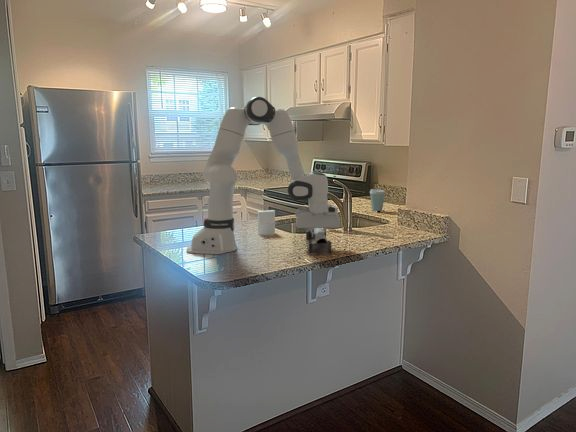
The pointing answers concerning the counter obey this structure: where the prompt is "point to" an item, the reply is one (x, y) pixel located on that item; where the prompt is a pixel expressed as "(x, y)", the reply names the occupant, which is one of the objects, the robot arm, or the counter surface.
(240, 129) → the robot arm
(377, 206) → the disposable coffee cup
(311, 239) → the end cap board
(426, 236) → the counter surface
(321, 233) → the tube
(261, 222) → the white upright block
